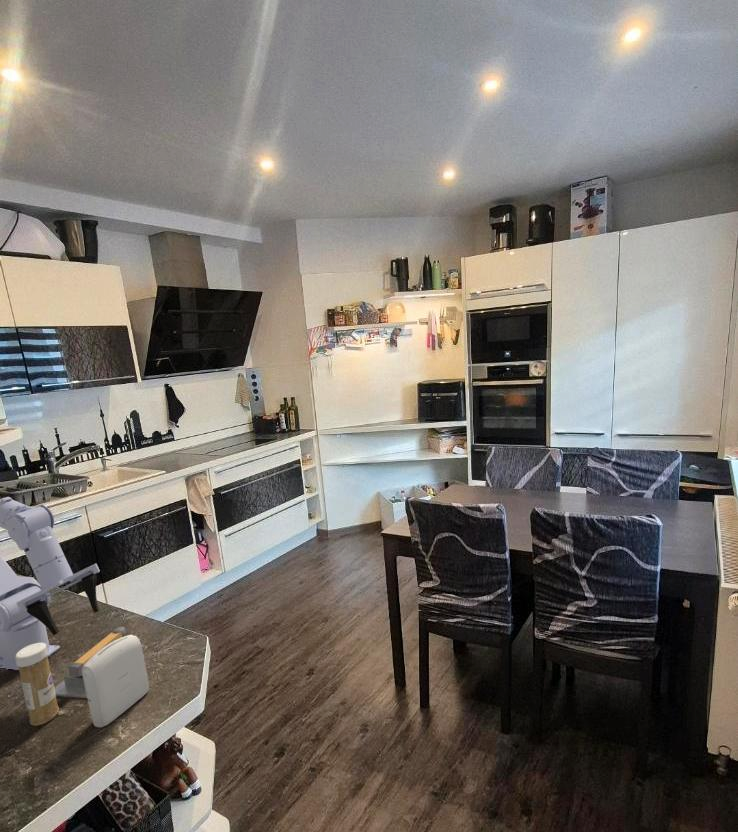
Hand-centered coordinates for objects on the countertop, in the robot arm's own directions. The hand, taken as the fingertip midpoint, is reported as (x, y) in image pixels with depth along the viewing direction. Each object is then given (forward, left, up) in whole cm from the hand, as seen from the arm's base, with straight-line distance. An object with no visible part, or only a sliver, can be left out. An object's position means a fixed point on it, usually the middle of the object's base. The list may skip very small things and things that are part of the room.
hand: (77, 622), depth 94 cm
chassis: (+3, +1, -11) cm, 11 cm away
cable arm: (+3, +2, -8) cm, 9 cm away
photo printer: (+16, -8, -11) cm, 21 cm away
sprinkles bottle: (+2, -12, -11) cm, 17 cm away
